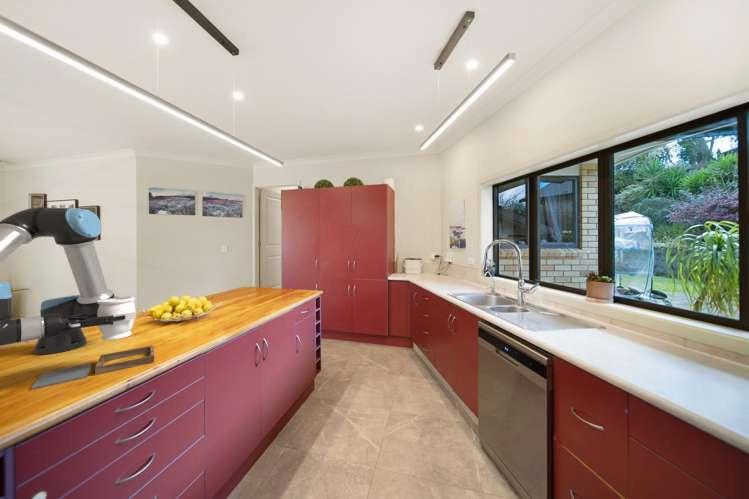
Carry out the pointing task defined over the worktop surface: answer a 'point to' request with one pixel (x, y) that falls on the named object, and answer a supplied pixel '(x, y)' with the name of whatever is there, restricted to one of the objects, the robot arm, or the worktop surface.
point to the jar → (111, 308)
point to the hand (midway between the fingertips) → (131, 313)
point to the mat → (62, 375)
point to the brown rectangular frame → (125, 364)
